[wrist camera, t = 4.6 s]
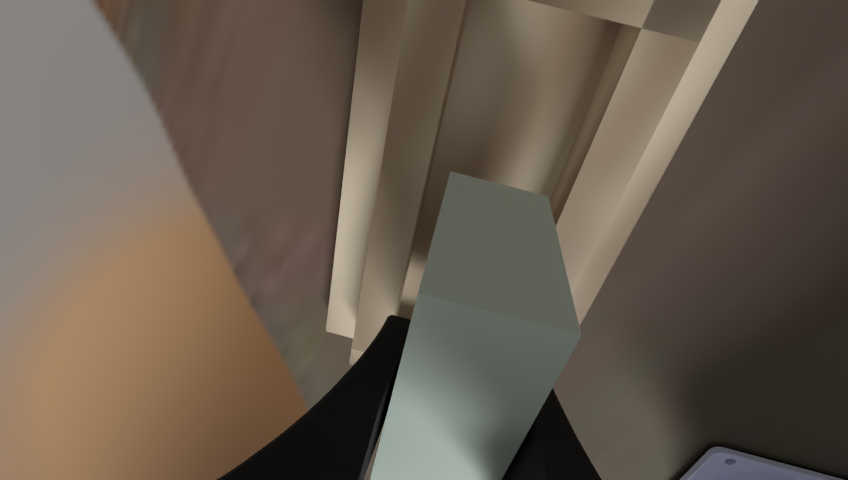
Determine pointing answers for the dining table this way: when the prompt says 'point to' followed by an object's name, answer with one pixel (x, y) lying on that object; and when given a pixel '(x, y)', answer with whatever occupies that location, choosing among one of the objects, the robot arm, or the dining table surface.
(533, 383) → the pale teal block
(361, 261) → the beige rectangular tray
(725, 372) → the dining table surface
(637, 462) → the dining table surface
